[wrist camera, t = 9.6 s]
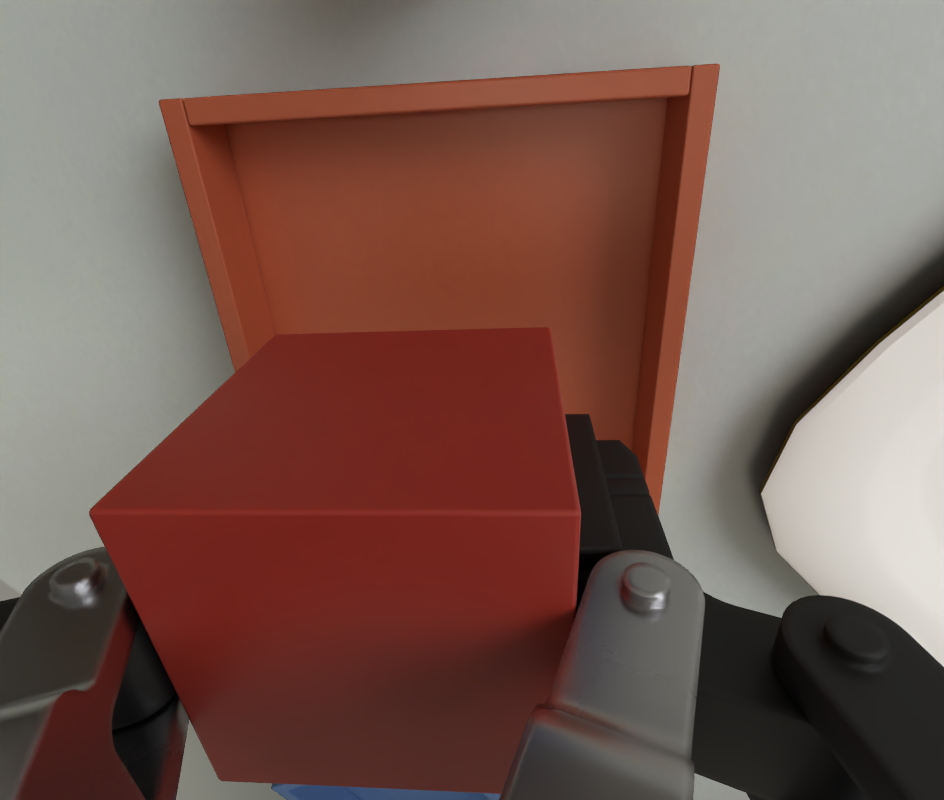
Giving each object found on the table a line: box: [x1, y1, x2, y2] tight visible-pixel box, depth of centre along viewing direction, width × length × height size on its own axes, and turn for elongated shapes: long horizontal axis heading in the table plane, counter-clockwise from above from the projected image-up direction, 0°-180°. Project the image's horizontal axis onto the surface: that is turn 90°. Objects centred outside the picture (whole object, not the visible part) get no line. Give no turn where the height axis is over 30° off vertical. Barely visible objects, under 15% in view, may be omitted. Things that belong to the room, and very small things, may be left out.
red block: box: [89, 327, 581, 794], centre depth 9 cm, size 5×5×5 cm
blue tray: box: [271, 783, 501, 800], centre depth 29 cm, size 10×10×2 cm
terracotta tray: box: [159, 64, 720, 514], centre depth 17 cm, size 13×13×2 cm
